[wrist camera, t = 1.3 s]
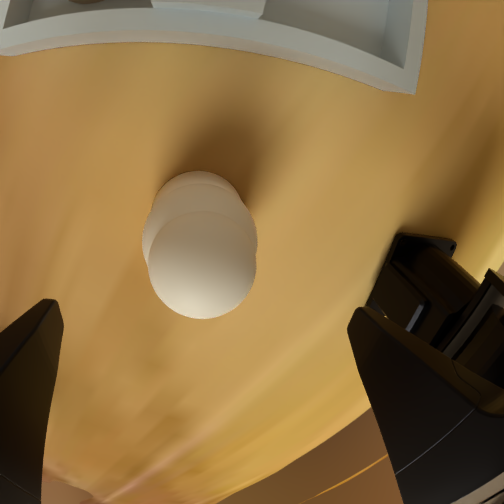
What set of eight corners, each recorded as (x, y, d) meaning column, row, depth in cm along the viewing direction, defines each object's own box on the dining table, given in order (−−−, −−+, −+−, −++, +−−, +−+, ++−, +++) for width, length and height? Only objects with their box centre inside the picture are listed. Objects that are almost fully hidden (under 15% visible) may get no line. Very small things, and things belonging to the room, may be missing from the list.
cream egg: (252, 173, 13) (296, 234, 8) (237, 259, 16) (264, 348, 10) (151, 165, 12) (125, 223, 7) (148, 254, 14) (135, 347, 9)
